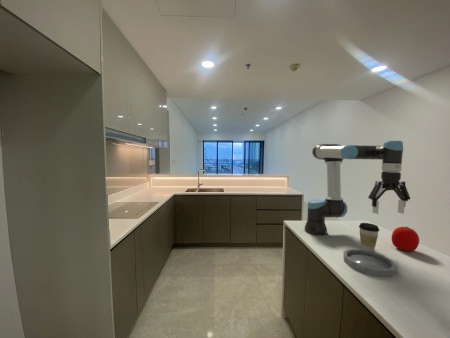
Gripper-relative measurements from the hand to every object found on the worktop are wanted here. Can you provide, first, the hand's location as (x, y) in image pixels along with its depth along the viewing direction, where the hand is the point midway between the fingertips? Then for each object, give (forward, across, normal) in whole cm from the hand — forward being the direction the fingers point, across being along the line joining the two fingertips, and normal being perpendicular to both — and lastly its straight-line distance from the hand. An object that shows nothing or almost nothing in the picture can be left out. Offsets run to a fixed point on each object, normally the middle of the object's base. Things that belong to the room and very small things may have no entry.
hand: (388, 213), depth 101 cm
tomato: (+27, +25, +14) cm, 39 cm away
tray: (+26, -10, -1) cm, 28 cm away
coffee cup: (+27, +2, +14) cm, 30 cm away
